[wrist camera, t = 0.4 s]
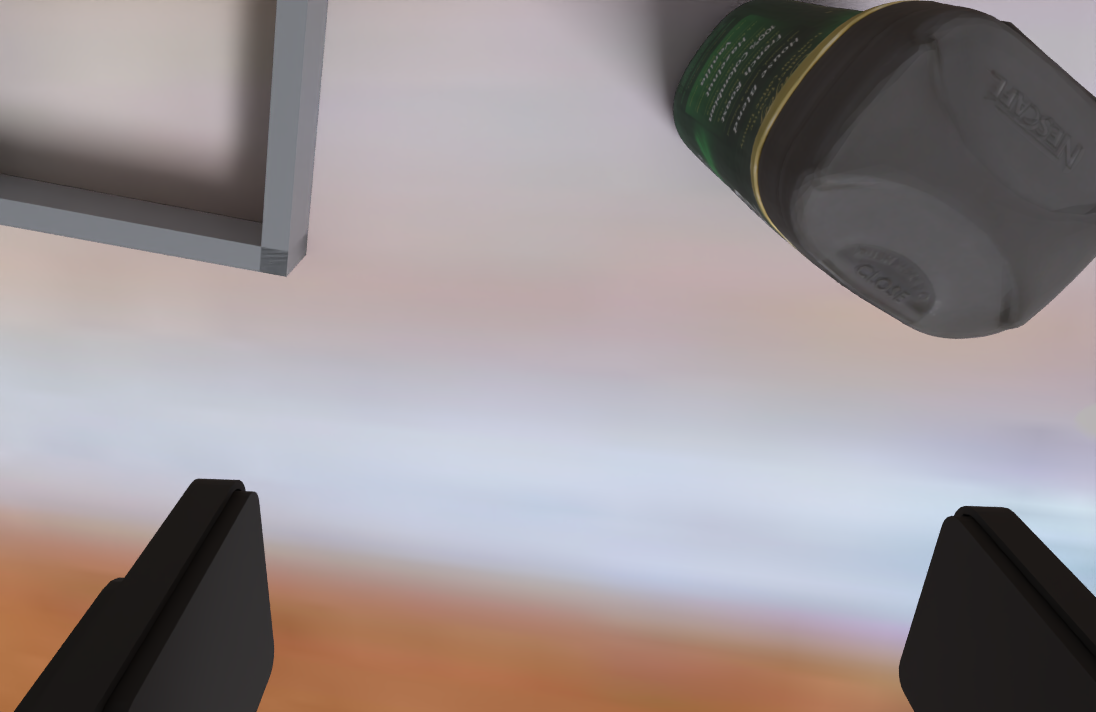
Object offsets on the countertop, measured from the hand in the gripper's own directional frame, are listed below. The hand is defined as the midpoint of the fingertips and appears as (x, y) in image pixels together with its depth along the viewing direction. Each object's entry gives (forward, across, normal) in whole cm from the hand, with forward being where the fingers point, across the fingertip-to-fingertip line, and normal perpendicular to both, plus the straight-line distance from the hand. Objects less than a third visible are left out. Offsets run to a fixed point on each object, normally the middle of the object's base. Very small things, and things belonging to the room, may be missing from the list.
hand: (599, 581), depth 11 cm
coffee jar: (+30, -10, -3) cm, 32 cm away
